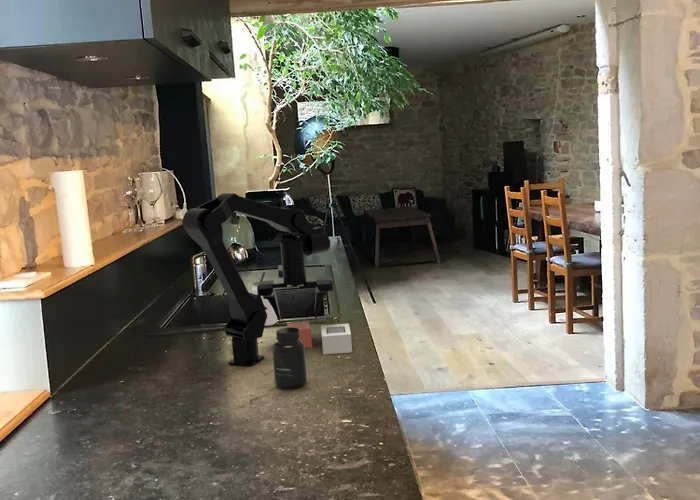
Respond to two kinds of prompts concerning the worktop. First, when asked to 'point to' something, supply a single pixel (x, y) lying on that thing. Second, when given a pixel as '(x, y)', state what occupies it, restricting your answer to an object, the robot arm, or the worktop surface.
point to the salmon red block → (303, 332)
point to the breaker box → (336, 340)
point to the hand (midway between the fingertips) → (297, 319)
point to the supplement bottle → (289, 359)
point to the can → (270, 311)
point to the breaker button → (335, 330)
